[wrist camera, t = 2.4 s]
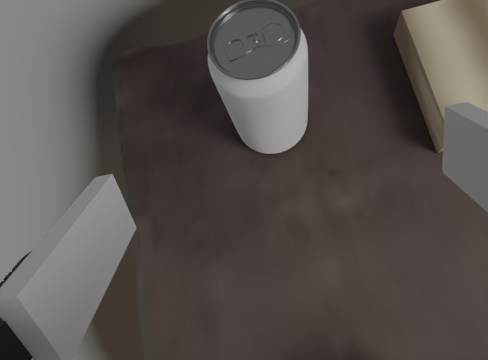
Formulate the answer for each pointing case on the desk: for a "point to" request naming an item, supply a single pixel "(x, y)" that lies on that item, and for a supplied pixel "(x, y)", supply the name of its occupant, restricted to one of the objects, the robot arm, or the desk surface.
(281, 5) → the can
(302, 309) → the desk surface
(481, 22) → the base block
